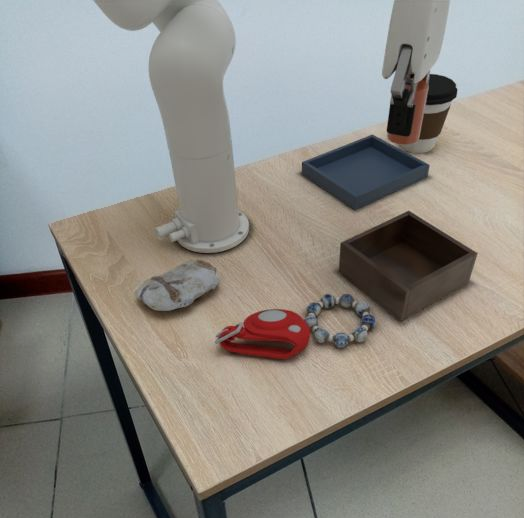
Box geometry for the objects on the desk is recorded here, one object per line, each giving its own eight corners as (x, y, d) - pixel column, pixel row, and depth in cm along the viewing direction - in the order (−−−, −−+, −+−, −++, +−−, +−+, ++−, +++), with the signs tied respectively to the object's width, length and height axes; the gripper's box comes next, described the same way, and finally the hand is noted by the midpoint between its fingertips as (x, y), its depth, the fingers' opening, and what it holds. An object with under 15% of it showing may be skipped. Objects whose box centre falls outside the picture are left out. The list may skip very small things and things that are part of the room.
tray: (354, 209, 93) (355, 197, 91) (301, 174, 102) (301, 161, 100) (427, 177, 99) (429, 164, 97) (371, 146, 108) (372, 134, 106)
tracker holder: (270, 296, 77) (324, 314, 70) (272, 324, 79) (324, 344, 72) (206, 325, 69) (259, 348, 63) (209, 354, 72) (261, 379, 65)
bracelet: (317, 357, 70) (318, 346, 69) (293, 309, 76) (293, 299, 75) (385, 339, 72) (387, 328, 70) (356, 293, 78) (357, 283, 76)
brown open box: (400, 321, 74) (406, 291, 70) (338, 271, 82) (340, 242, 78) (468, 283, 78) (477, 253, 74) (403, 239, 86) (408, 210, 82)
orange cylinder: (401, 147, 71) (410, 94, 66) (380, 135, 74) (386, 83, 69) (426, 138, 73) (436, 85, 68) (404, 126, 76) (412, 75, 70)
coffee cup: (378, 146, 108) (386, 84, 99) (413, 128, 112) (423, 67, 103) (421, 165, 102) (433, 101, 93) (457, 145, 106) (471, 83, 97)
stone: (166, 329, 75) (161, 312, 73) (130, 299, 80) (124, 282, 77) (229, 288, 80) (227, 271, 78) (192, 262, 85) (189, 245, 82)
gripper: (419, -55, 65) (397, 97, 79) (371, -19, 55) (356, 148, 69) (482, -51, 62) (448, 105, 76) (443, -13, 53) (412, 159, 66)
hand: (404, 124), depth 72 cm, fingers closed on orange cylinder, 4 cm apart
